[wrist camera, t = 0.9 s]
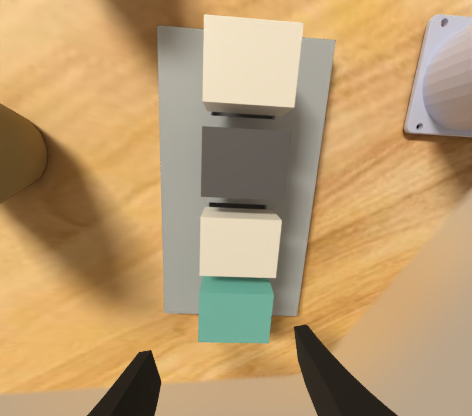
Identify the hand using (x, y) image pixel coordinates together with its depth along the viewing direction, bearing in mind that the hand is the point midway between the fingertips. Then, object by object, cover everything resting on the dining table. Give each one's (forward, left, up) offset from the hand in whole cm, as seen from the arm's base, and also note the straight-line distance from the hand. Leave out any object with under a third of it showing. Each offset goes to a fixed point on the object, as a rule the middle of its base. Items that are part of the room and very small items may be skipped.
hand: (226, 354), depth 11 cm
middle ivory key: (-1, -4, -7) cm, 8 cm away
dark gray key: (-1, -9, -7) cm, 12 cm away
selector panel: (-1, -7, -10) cm, 11 cm away
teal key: (-1, +1, -7) cm, 7 cm away
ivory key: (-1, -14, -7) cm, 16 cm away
